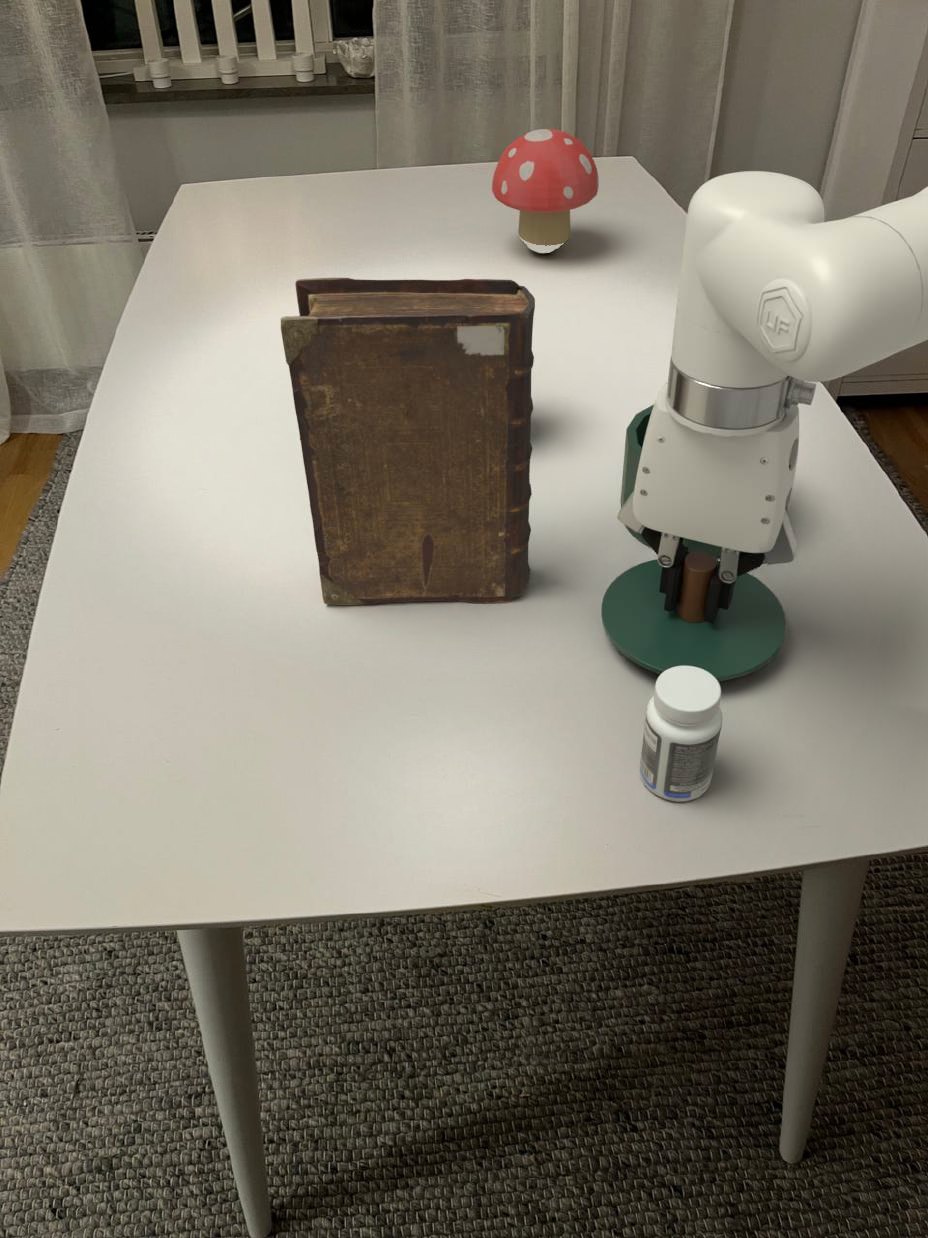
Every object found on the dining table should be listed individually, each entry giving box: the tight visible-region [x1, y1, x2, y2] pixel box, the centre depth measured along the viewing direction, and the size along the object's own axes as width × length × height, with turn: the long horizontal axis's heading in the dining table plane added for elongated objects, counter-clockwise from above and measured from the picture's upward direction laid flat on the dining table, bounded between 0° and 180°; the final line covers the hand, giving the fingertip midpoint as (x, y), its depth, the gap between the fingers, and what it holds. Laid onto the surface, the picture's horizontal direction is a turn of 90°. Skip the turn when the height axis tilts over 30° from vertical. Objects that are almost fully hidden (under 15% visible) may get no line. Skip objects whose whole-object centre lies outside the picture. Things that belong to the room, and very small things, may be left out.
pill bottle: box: [639, 666, 723, 803], centre depth 65 cm, size 5×5×8 cm
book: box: [280, 277, 536, 606], centre depth 75 cm, size 17×7×25 cm, turn 83°
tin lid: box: [600, 551, 787, 682], centre depth 75 cm, size 14×14×6 cm
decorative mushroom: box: [491, 128, 600, 246], centre depth 128 cm, size 13×13×15 cm
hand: (694, 604), depth 76 cm, fingers closed on tin lid, 2 cm apart
